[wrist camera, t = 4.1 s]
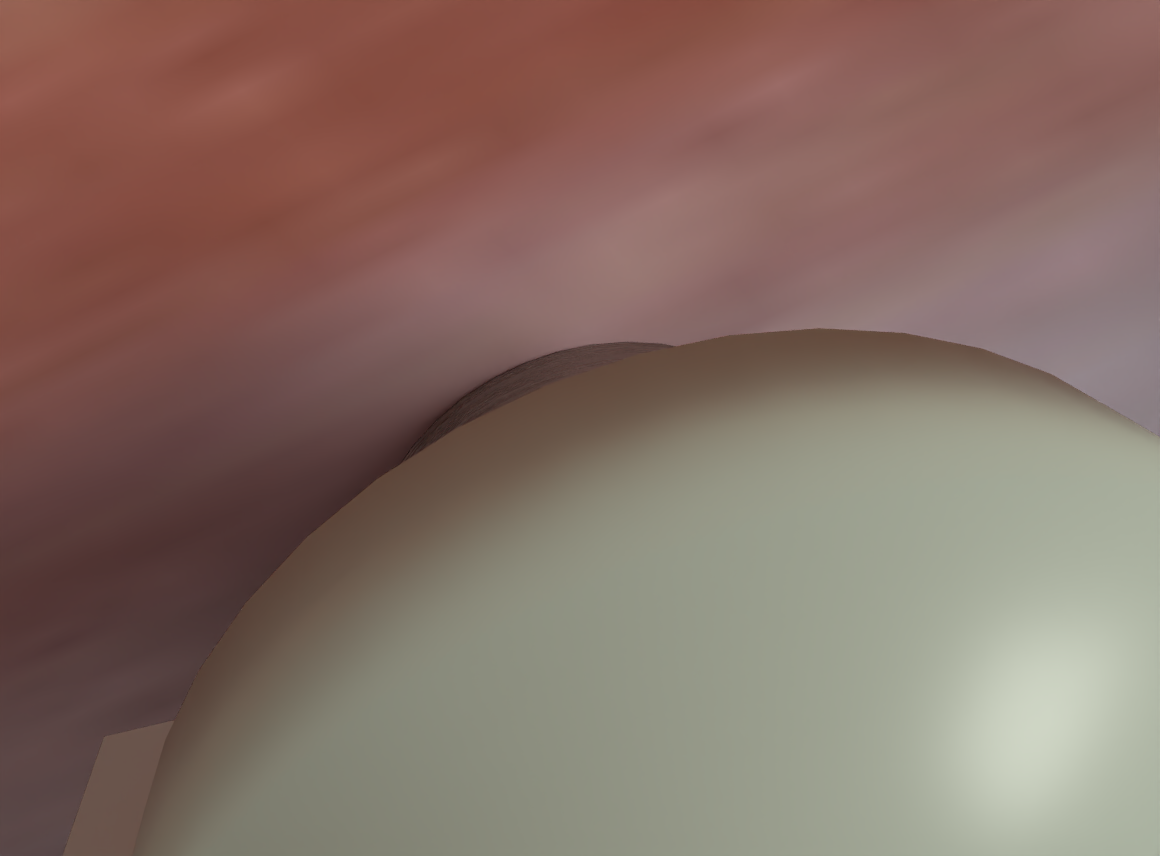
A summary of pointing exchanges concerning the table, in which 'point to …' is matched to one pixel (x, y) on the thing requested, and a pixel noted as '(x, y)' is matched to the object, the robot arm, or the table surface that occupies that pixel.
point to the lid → (708, 626)
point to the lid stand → (528, 384)
